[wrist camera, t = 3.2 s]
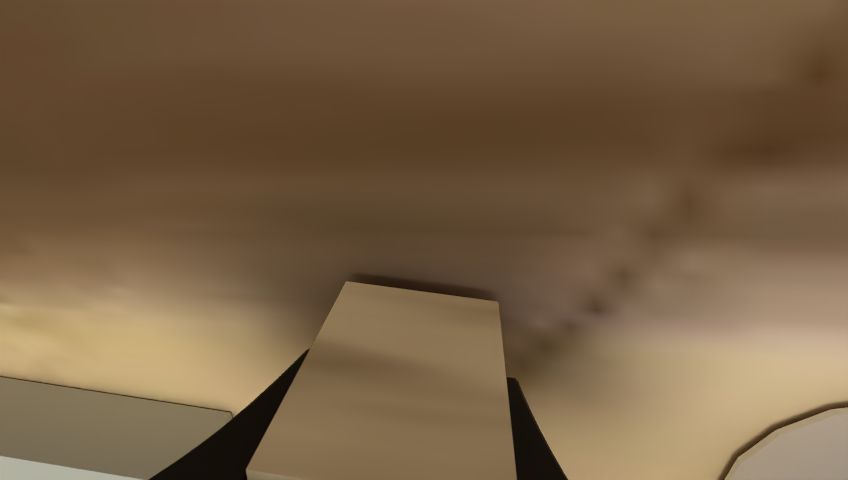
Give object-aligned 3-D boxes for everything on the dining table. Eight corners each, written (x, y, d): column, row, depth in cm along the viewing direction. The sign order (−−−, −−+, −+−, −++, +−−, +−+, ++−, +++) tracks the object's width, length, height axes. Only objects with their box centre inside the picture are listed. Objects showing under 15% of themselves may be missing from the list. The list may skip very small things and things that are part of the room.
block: (475, 412, 14) (478, 646, 8) (345, 392, 14) (266, 608, 9) (498, 301, 12) (520, 513, 7) (346, 281, 12) (245, 469, 7)
